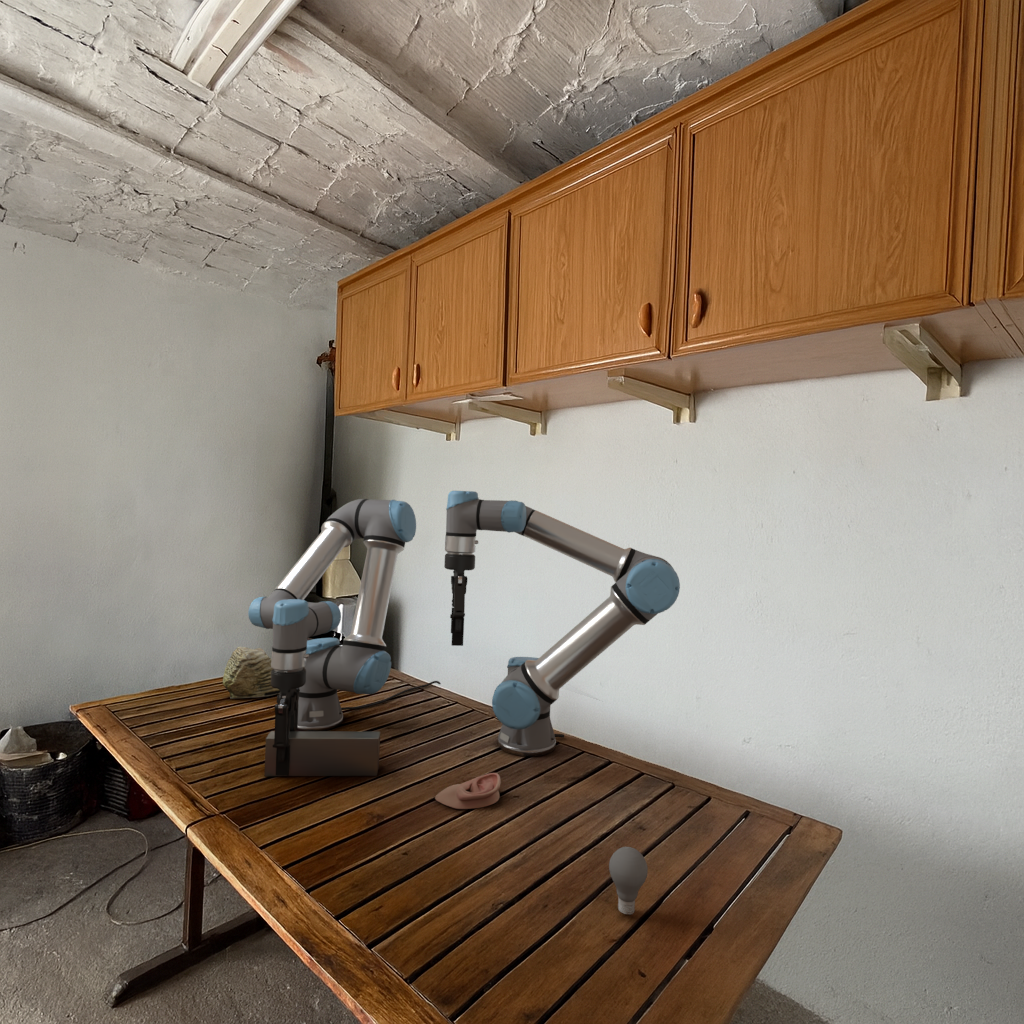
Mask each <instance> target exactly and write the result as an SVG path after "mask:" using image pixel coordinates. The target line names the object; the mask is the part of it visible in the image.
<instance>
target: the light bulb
mask: <svg viewBox="0 0 1024 1024" xmlns="http://www.w3.org/2000/svg"><path fill="white" fill-rule="evenodd" d="M648 867H649V866H648V864H647V861H646V858H645V857H644V856H643V854H642V853H641V852H640V851H639V850H638V849H637V848H634V847H631V846H622V847H620V848H617V850H615V851H614V852H613V854H612V855H611V857H610V858H609V863H608V869H609V874H610V875H609V876H610V877H611V879H612V882H613V883H614V885H615V889H616V894H617V897H618V901H617V902H618V903H617V909H618V911H619V912H620V913H622V914H624V915H633V914H634V913H635V910H636V907H635V906H636V899H637V897H638V896H639V895H638V894H639V891H640V889H641V888H642V886H643V885H644V884H645V882H646V880H647V877H648V873H649V871H648V869H649V868H648Z"/></svg>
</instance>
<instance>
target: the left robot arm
mask: <svg viewBox="0 0 1024 1024" xmlns="http://www.w3.org/2000/svg"><path fill="white" fill-rule="evenodd" d="M416 519H417V518H416V514H415V512H414V509H413V507H412V506H411V505H410V503H408V502H406V501H404V500H396V499H375V498H373V499H371V498H358V499H354V500H351V501H349V502H347V503H345V504H343V505H342V506H340V507H339V508H338V509H336V510H335V511H334V512H332V514H330V515H329V516H328V517H327V519H326V520H325V521H324V522H323V523H322V525H321V527H320V530H321V532H320V533H319V534H318V535H317V537H316V538H315V539H314V540H313V541H312V543H311V544H310V545H309V546H308V548H307V549H306V550H305V551H304V553H303V554H302V555H301V556H300V558H299V559H298V560H297V561H296V562H295V564H294V565H293V566H292V567H291V568H290V570H289V571H288V572H287V573H286V575H284V577H283V578H282V579H281V581H280V582H279V583H278V584H277V585H276V587H275V588H274V589H273V591H272V592H271V593H270V594H269V596H259V597H256V598H255V599H253V600H252V602H251V603H250V605H249V607H248V613H247V615H248V619H249V622H250V623H251V624H252V626H254V627H259V628H262V629H266V630H269V629H270V630H272V646H271V659H272V660H271V667H272V668H273V670H272V671H271V686H272V687H273V688H277V689H279V690H280V693H279V694H277V696H276V703H275V705H274V731H275V736H274V745H273V747H274V748H277V750H276V775H289V756H290V745H289V733H290V731H330V730H332V729H335V728H337V727H339V726H340V725H342V723H343V722H344V714H343V711H345V710H346V711H347V710H350V711H351V710H359V709H366V708H369V707H374V706H377V705H380V704H383V703H385V702H388V701H390V700H392V699H394V698H396V697H398V696H400V695H403V694H406V693H408V692H411V691H414V690H418V689H422V688H425V687H429V686H432V685H433V684H438V685H442V683H441V682H440V681H439V680H432V681H430V682H428V683H426V684H422V685H417V686H413V687H410V688H407V689H404V690H402V691H400V692H397V693H395V694H393V695H391V696H389V697H387V698H384V699H382V700H380V701H376V702H372V703H368V704H363V705H358V706H344V707H343V706H341V702H340V699H339V695H338V691H341V692H347V693H355V694H357V695H374V694H376V693H378V692H379V691H380V690H381V689H382V688H383V687H384V686H385V684H386V683H387V681H388V678H389V676H390V673H391V669H392V661H391V660H392V658H391V654H389V653H388V652H387V651H386V648H387V644H386V643H385V641H384V639H383V635H384V631H385V624H386V618H387V613H388V609H389V602H390V597H391V593H392V587H393V581H394V578H395V577H394V576H395V571H396V567H397V566H396V565H397V561H398V556H399V554H400V553H401V552H403V551H404V550H405V546H406V543H409V542H411V541H413V539H414V537H415V536H416V533H417V520H416ZM359 539H363V545H364V546H365V548H366V549H367V550H366V554H365V560H364V565H363V570H362V574H361V580H360V585H359V588H358V589H359V590H358V594H357V595H358V596H357V600H356V604H355V609H354V615H353V618H352V623H351V624H352V625H351V630H350V634H349V635H347V636H346V637H345V638H343V641H342V645H340V644H341V641H340V639H339V638H337V637H321V638H313V637H316V636H319V635H323V634H328V633H329V632H331V631H333V630H335V629H336V628H338V627H339V625H340V623H341V619H342V612H341V609H340V608H339V607H340V606H338V605H337V604H336V602H333V601H331V600H327V601H324V600H323V601H322V600H321V601H319V602H310V601H307V600H305V599H306V598H307V596H308V595H309V594H310V592H311V591H312V590H313V589H314V587H315V586H316V584H318V582H319V580H321V578H322V577H323V575H325V573H326V571H327V570H328V569H329V567H330V566H331V565H332V563H333V562H334V561H335V560H336V558H337V557H338V556H339V555H340V553H341V552H342V550H343V549H344V548H348V547H350V546H351V545H352V543H353V542H354V541H355V540H359ZM311 637H312V638H313V639H309V638H311Z"/></svg>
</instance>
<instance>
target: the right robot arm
mask: <svg viewBox="0 0 1024 1024" xmlns="http://www.w3.org/2000/svg"><path fill="white" fill-rule="evenodd" d="M446 503H447V504H446V508H445V511H446V522H445V525H446V526H445V539H444V551H445V552H446V553H445V555H444V568H445V570H449V571H453V572H452V573H453V575H451V576H450V584H451V594H452V599H451V613H450V616H449V618H450V619H451V620H450V634H451V646H452V647H453V646H455V647H456V646H458V647H459V646H461V647H464V635H465V616H466V613H465V605H466V604H465V603H466V597H465V596H466V594H467V585H468V576H467V575H465V571H474V570H475V569H476V555H475V554H474V553H475V552H476V545H478V544H479V540H477V531H489V532H505V533H508V534H509V533H516V534H518V535H520V536H522V537H525V538H527V539H530V540H531V541H534V542H536V543H538V544H541V545H542V546H545V547H547V548H549V549H551V550H554V551H556V552H558V553H560V554H562V555H564V556H566V557H569V558H571V559H572V560H573V559H574V560H575V561H578V562H580V563H582V564H584V565H586V566H589V567H590V568H593V569H595V570H597V571H599V572H602V573H604V574H606V575H608V576H610V577H612V578H613V581H614V583H613V584H612V585H611V586H610V592H609V593H610V594H609V596H608V597H607V598H606V599H605V600H604V601H602V603H600V604H599V605H598V606H597V607H596V608H595V609H594V610H593V611H592V612H590V613H589V614H588V615H587V616H585V617H584V618H583V619H582V620H581V621H580V622H579V623H577V624H576V625H575V626H574V627H573V628H572V629H570V630H569V631H568V632H567V633H566V634H565V635H564V636H563V637H561V638H560V639H559V640H558V641H557V642H556V643H555V644H554V645H552V646H551V647H550V648H549V649H548V650H547V651H545V652H544V653H543V654H542V655H541V656H540V657H534V656H533V657H532V656H514V657H513V656H512V657H510V658H509V659H508V662H507V666H506V668H507V675H506V676H505V677H504V678H503V680H502V681H501V682H500V683H499V684H498V685H497V686H496V688H495V690H494V692H493V696H492V698H491V699H492V700H491V706H492V712H493V713H494V716H495V717H496V719H497V720H498V722H500V723H501V727H500V730H499V732H498V735H497V746H498V748H499V749H500V750H502V751H504V752H505V753H509V754H510V755H514V756H521V757H540V756H545V755H548V754H551V753H552V752H553V751H554V750H556V742H557V738H560V739H561V738H562V739H563V738H565V734H563V733H555V731H554V728H553V724H552V721H551V705H552V704H554V703H555V702H556V701H557V700H558V699H559V697H560V689H561V688H562V687H564V686H565V685H566V684H567V683H568V682H570V680H572V679H573V678H574V677H575V676H576V675H578V674H579V673H580V672H581V671H582V670H584V669H585V668H586V667H587V666H588V665H590V663H592V662H593V661H594V660H595V659H596V658H597V657H599V656H600V655H601V654H603V652H605V651H606V650H607V649H608V648H609V647H610V646H611V645H613V644H614V643H615V642H616V641H617V640H619V639H620V638H621V637H622V636H623V635H625V633H627V632H628V631H629V630H630V629H632V628H633V627H634V626H636V625H639V626H645V625H647V623H649V622H650V621H651V620H653V618H655V617H656V616H657V615H658V614H661V613H664V612H666V611H667V610H669V609H671V607H672V606H673V605H674V604H675V603H676V602H677V600H678V597H679V594H680V590H681V589H680V588H681V583H680V578H679V575H678V573H677V572H676V570H675V568H674V567H673V566H672V564H671V563H669V561H668V560H666V559H665V558H662V557H660V556H656V555H652V554H650V553H645V552H643V551H640V550H637V549H635V548H632V547H628V548H623V547H620V546H618V545H616V544H614V543H611V542H610V541H607V540H605V539H602V538H600V537H598V536H595V535H593V534H591V533H589V532H586V531H584V530H583V529H579V528H577V527H575V526H574V525H573V526H572V525H570V524H569V523H566V522H563V521H562V520H559V519H557V518H556V517H555V518H554V517H552V516H550V515H547V514H545V513H543V512H541V511H539V510H536V509H534V508H532V507H530V506H527V505H526V504H525V502H523V501H518V500H497V499H496V500H494V499H493V500H492V499H481V498H480V497H479V493H478V492H477V491H471V490H451V491H449V493H448V494H447V501H446Z"/></svg>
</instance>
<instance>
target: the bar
mask: <svg viewBox="0 0 1024 1024" xmlns="http://www.w3.org/2000/svg"><path fill="white" fill-rule="evenodd" d="M274 736H275V730H271V731H270V732H269V733H268V734H267V736H266V737H265V749H264V752H265V753H264V774H263V775H264V777H376V776H378V773H379V769H380V751H381V750H380V749H381V731H349V730H348V731H345V730H344V731H342V730H340V731H339V730H338V731H336V730H335V731H334V730H333V731H331V730H325V731H290V733H289V745H290V756H289V775H276V750H277V748H274V747H273V745H274Z"/></svg>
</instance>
